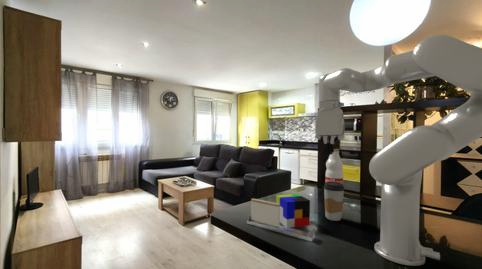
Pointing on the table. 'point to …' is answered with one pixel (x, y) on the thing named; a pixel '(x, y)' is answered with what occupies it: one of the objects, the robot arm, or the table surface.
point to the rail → (284, 230)
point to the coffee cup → (333, 200)
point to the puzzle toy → (294, 210)
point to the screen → (265, 212)
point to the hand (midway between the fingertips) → (329, 154)
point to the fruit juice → (334, 168)
